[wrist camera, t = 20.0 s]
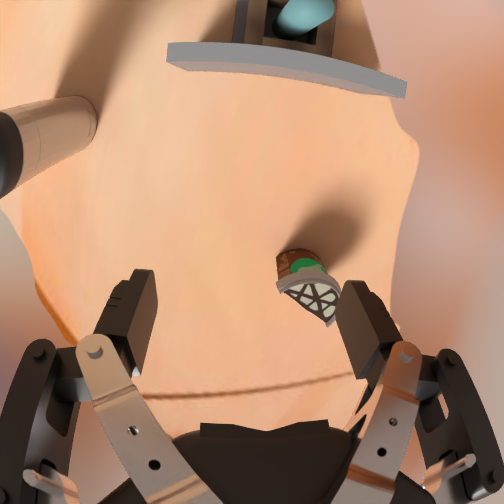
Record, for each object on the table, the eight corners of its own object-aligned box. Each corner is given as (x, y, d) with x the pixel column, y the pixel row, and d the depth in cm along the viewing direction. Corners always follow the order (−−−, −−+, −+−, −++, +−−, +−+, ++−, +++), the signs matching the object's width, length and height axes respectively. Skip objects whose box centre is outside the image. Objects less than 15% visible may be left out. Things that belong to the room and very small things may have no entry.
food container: (341, 269, 49) (359, 306, 40) (315, 289, 51) (329, 329, 43) (297, 227, 44) (311, 263, 36) (269, 252, 46) (277, 292, 38)
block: (242, 56, 29) (243, 50, 25) (250, -7, 24) (252, -20, 19) (318, 67, 30) (330, 64, 26) (325, 5, 25) (337, -5, 20)
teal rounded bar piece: (270, 38, 28) (290, 16, 18) (273, 13, 25) (294, -17, 15) (300, 43, 28) (332, 26, 18) (303, 18, 26) (335, -6, 16)
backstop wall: (187, 71, 30) (166, 61, 20) (189, 57, 29) (168, 42, 19) (360, 93, 33) (404, 98, 23) (362, 81, 32) (407, 81, 22)
